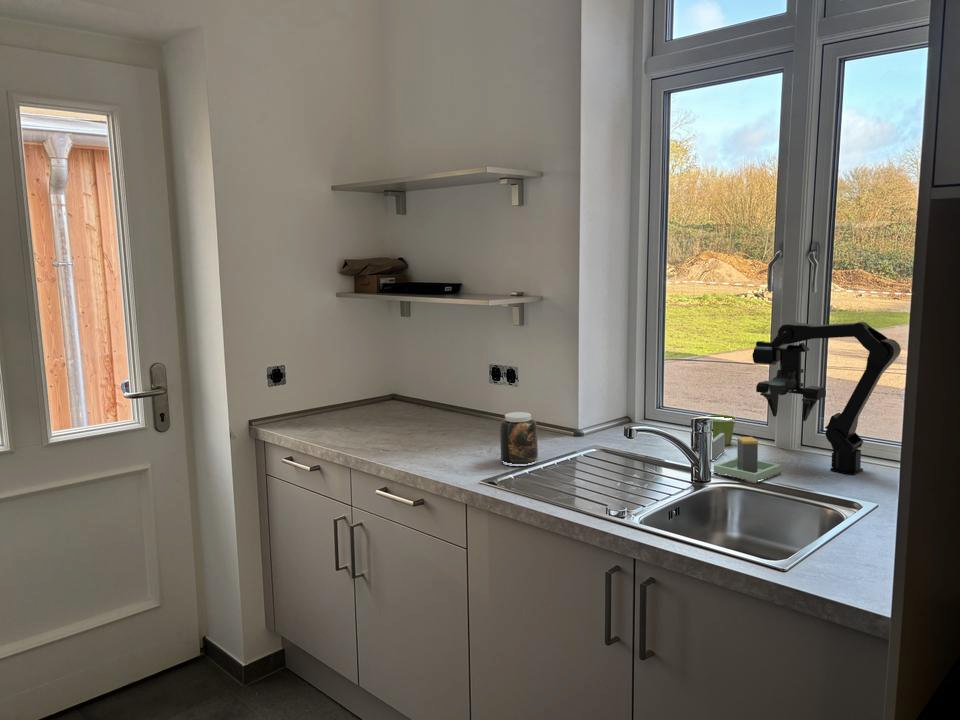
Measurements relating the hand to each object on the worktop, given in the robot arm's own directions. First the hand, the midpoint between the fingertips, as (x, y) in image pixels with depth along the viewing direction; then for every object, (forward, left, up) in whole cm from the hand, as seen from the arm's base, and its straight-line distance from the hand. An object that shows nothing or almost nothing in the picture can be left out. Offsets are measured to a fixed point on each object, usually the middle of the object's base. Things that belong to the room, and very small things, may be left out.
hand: (789, 418), depth 218 cm
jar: (+58, +55, -13) cm, 81 cm away
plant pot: (+26, -5, -13) cm, 30 cm away
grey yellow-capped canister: (+2, +19, -12) cm, 23 cm away
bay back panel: (+18, +9, -13) cm, 24 cm away
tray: (+2, +19, -13) cm, 23 cm away
